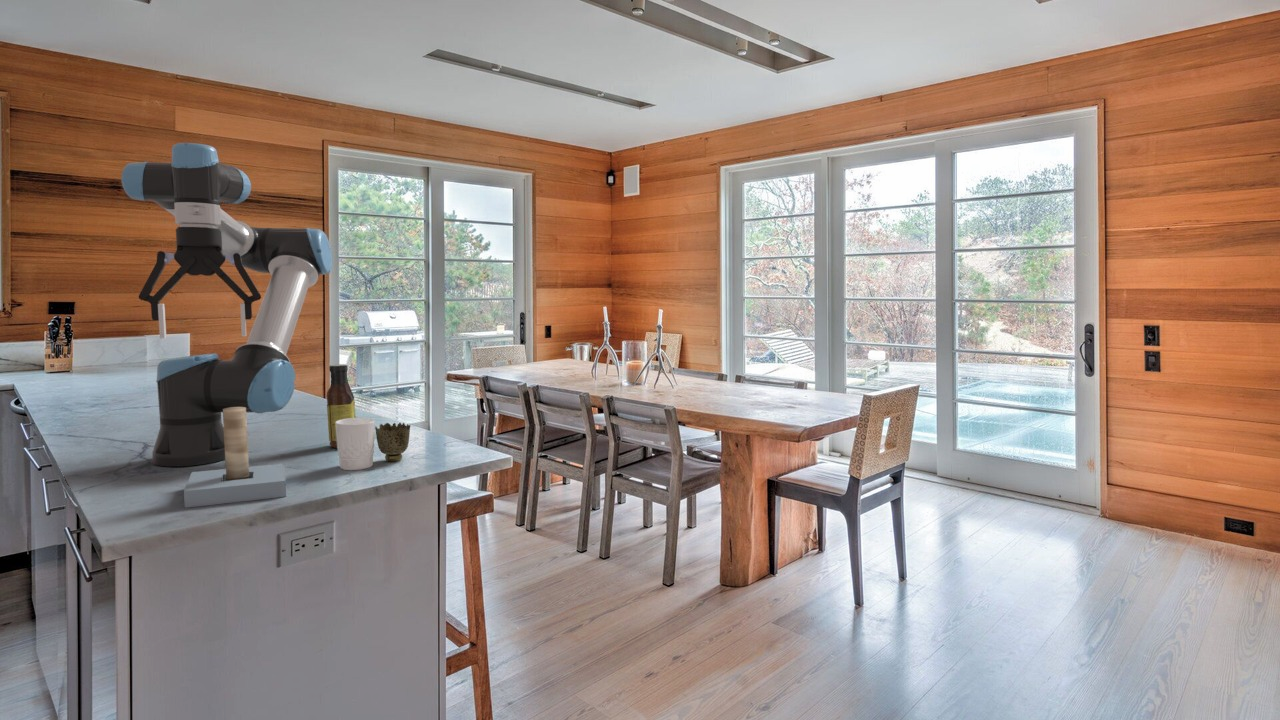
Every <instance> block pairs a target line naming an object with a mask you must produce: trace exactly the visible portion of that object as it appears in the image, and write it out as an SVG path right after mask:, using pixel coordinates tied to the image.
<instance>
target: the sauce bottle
mask: <svg viewBox="0 0 1280 720" xmlns="http://www.w3.org/2000/svg"><path fill="white" fill-rule="evenodd" d="M328 370H329V372H330V386H329V388H328V390H327V391H326V411H327V426H328V428H327V429H328V441H329V445H330V447H331V448H334V449H338V448H337V437H336V425H335V422H336V421H338V420H342V419H348V418H356V406H355V395H354V393H353V390H352V388H351V386H350V384H349V380H348V370H349V369H348V365H347V364H343V363H341V364H339V363H338V364H332V365H331V364H330V365H329V369H328Z"/></svg>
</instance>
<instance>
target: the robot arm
mask: <svg viewBox="0 0 1280 720" xmlns="http://www.w3.org/2000/svg"><path fill="white" fill-rule="evenodd" d="M120 180H121V185H122V188H123V190H124V192H125V194H126V195H127V196H128V197H129V198H130V199H132V200H137V201H143V202H147V201H152V202H154V203H156V204H157V205H159V206H160V207H161V208H163V209H164V210H166V211H167V212H168V213H170V214H171V215H173V216H174V223H175V224H176V225H179V226H178V227H176V229H175V240H176V241H175V242H176V250H175V253H172V252H165V251H163V250H159V251H158V252H157V254H156V263H155V265H154V267H153V269H152V270H151V272H150V274H149V276H148V278H147V280H146V282H145V283H144V285H143V287H142V290H140V293H139V294H138V300H141V301H145V302H148V303H149V304H150V310H151V319H152V321H158V328H159V329H158V332H159V339H166V338H167V325H166V324H167V323H166V308H165V303H160V302H161V300H163V299H164V297H166V295H167V294H168V293H169V292H171V290H173V288H174V287H175V286H176V285H177V283H179V282H180V280H181V279H182V278H184V276H186V274H188V275H189V276H201V275H202V276H207V277H208V276H209V277H210V276H214V275H215V274H216V275H217V277H219V278H220V279H221V280H222V281H223V282H224V283H225V284H226V285H227V286H228V287H229V288H230V289H231V290H232V291H233V292H234V293H235V294H236V295H237V296H238V297H239V298H240V299H241V300H242V301H243V303H239V307H240V311H239V312H240V327H241V328H240V330H241V332H240V333H241V338H242V337H247V320H252V317H253V313H252V312H253V310H252V309H253V308H252V305H253V303H254V302H257V301H260V300H261V299H262V301H261V303H260V306H259V309H258V311H257V315H256V317H255V320H254V322H253V325H252V327H251V330H250V333H249V336H248V338H247V340H246V343H244V344H242V345H239V346H238V347H237V348H236V349H235V352H234V353H233V354H234V355H233V356H232V359H221V360H220V357H219V355H218V353H204V354H197V355H189V356H182V357H181V356H180V357H175V358H174V357H173V358H167V359H164V360H162V361H160V362H159V363H158V365H157V369H156V380H155V381H156V386H157V396H158V397H157V399H158V410H159V412H158V413H159V429H158V433H157V436H156V440H155V443H154V446H153V449H152V453H151V454H152V458H151V459H152V464H153V465H156V466H161V467H191V466H198V465H199V466H200V465H204V464H205V465H207V464H212V463H217V462H220V461H225V444H224V425H223V419H222V413H223V409H224V408H230V407H246V413H255V414H264V413H273V412H274V413H275V412H278V411H280V410H282V409H284V408H285V407H286V406H287V405H289V402H290V400H291V398H292V397H293V394H294V393H295V392H294V391H295V387H296V384H295V381H296V372H295V369H294V367H293V365H292V363H291V360H290V358H289V356H287V354H288V351H289V348H290V345H291V341H292V338H293V335H294V334H295V333H294V332H295V329H296V325H297V324H298V320H299V317H300V315H301V311H302V308H303V305H304V302H305V299H306V296H307V293H308V289H309V288H312V287H313V286H314V285H316V283H317V282H318V281H319V278H320V277H319V276H320V275H324V276H325V275H328V274H330V273H331V271H332V269H333V268H332V267H333V254H332V250H331V249H332V248H331V245H330V242H329V238H328V235H327V234H326V233H325V232H324V231H323V230H322V229H319V228H309V227H305V228H289V227H287V228H285V227H257V226H255V227H254V226H250V225H249V224H247V223H246V222H243V221H241V220H235V219H234V218H233V216H231V215H230V214H228V213H227V212H226V211H224V210H223V209H222V208H221V203H224V204H233V205H234V204H239V203H242V202H244V201H245V200H247V198H248V197H249V196H250V194H251V191H252V183H251V181H250V179H249V176H248V175H247V174H246V173H245V172H244V171H243V170H241V169H239V168H236V166H233V165H230V164H229V165H227V164H225V163H221V162H220V159H219V157H218V151H217V149H216V148H215V147H213V146H212V145H208V144H202V143H196V142H195V143H194V142H179V143H175V144H174V145H173V146H172V148H171V162H151V161H150V162H149V161H143V162H141V161H140V162H130V163H127V164H126V165H125V166H124V167H123V169H122V173H121V179H120ZM173 259H174V261H175V262H176V263H177V264H178V265H179V266H180V267H179V268H178V269H177V270H176V271H175V272H174V274H172V276H171V277H170V278H169V279H168V280H167V281H166V282H165V283H164V284H163V285H162V286H161V287H160V288H159V289H158V290H157V291H156V292H155V293H154V294H153V295H151V293H152V292H153V289H154V288H155V285H156V284H157V282H158V280H159V278H160V276H161V275H162V273H163V271H164V269H165V267H166V265H167V264H170V263H171V261H172V260H173ZM226 261H227V262H229V263H230V265H232V266H233V265H234V266H235V268H236V271H237V272H238V274H239V275H240V277H241V279H242V281H243V282H244V284H245V285H246V286H247V289H248V291H249V292H250V293H251V295H248V294H247V293H246V292H245V291H244V290H243V289H242V288H241V287H240V286H239V285H238V284H237V283H236V282H235V281H234V280H233V279H232V278H231V277H230V276H229V275H228V274H227V273H226V272H225V271H224V270H223V269H222V268H221V267H222V266H223V264H224V262H226ZM246 269H248V270H250V271H254V272H257V273H263V274H270V275H271V277H270V279H269V282H268V284H267V288H266V291H265V293H264V296H263V298H262V295H261V294H260V292H259V290H258V289H257V287H256V285H255V284H254V282H253V280H252V278H251V277H250V275H249V274H248V272H247V270H246Z"/></svg>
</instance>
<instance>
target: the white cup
mask: <svg viewBox="0 0 1280 720" xmlns="http://www.w3.org/2000/svg"><path fill="white" fill-rule="evenodd" d="M375 421H376V420H375V419H374V418H371V417H355V418H348V419H342V420H338V421H336V422H335V425H336V437H337V448H336V449H337V454H338V459H339V460H338V461H339V468H340V469H341V470H345V471H359V470H365V469H370V468H371V467H373V466H374V453H375V451H374V449H375V423H376V422H375Z"/></svg>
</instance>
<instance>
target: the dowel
mask: <svg viewBox="0 0 1280 720" xmlns="http://www.w3.org/2000/svg"><path fill="white" fill-rule="evenodd" d="M247 422H248V421H247V412H246V407H230V408H224V409H223V412H222V424H223V427H224V444H225V459H224V461H225V469H226V481H230V480H240V479H249V477H250V476H249V467H250V464H249V463H250V461H249V444H248V426H247V425H248V423H247Z"/></svg>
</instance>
